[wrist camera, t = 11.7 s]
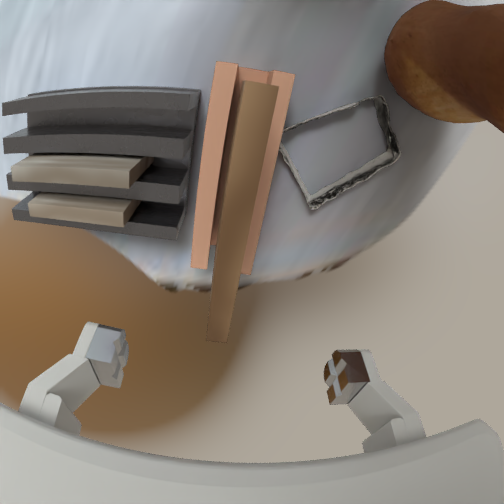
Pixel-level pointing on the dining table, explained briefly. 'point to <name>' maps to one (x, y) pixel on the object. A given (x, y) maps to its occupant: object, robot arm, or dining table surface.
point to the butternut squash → (450, 61)
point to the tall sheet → (239, 200)
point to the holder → (218, 153)
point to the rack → (113, 148)
